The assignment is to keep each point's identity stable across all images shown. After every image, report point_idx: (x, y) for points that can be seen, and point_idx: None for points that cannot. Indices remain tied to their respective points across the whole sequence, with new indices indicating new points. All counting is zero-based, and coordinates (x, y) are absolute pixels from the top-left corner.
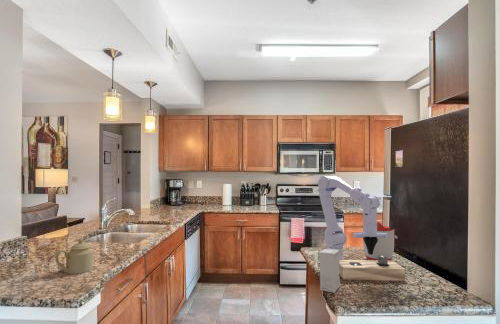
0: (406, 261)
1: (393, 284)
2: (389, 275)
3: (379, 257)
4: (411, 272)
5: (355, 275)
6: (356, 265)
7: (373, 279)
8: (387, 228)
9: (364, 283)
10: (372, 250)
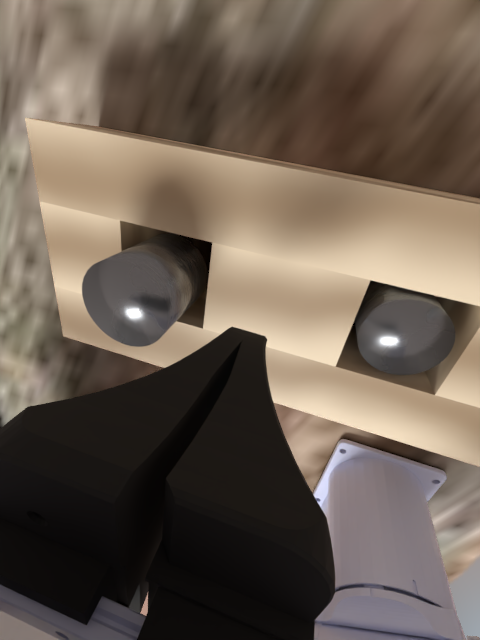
0: (11, 400)
1: (215, 38)
2: (185, 145)
3: (166, 295)
4: (23, 269)
5: None
6: (425, 307)
7: (321, 168)
8: None
9: (465, 91)
10: (219, 348)
